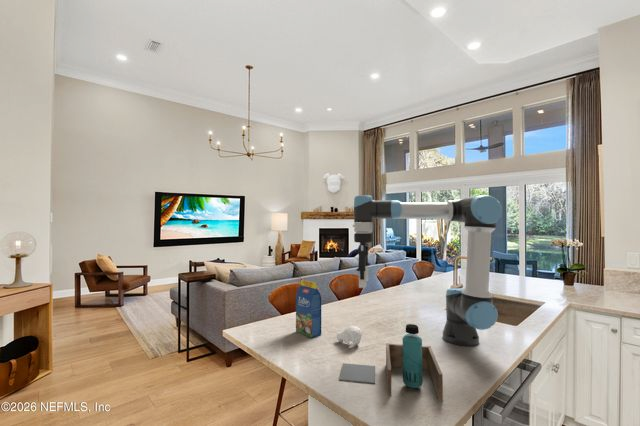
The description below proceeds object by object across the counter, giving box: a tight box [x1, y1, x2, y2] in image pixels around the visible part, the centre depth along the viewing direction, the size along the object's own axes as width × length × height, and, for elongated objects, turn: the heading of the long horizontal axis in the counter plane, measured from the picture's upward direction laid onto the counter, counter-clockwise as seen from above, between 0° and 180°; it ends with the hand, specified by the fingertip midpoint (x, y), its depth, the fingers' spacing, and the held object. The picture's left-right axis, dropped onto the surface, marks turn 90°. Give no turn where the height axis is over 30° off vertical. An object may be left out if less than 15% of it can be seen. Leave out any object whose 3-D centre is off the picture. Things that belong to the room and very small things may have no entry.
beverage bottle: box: [401, 323, 424, 389], centre depth 100 cm, size 6×7×20 cm
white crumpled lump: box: [336, 325, 363, 349], centre depth 134 cm, size 6×8×12 cm
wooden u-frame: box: [385, 342, 444, 402], centre depth 103 cm, size 16×21×8 cm
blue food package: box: [295, 279, 322, 339], centre depth 148 cm, size 6×12×25 cm, turn 42°
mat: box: [338, 363, 376, 385], centre depth 109 cm, size 12×12×1 cm
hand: (363, 284), depth 126 cm, fingers open, 13 cm apart
